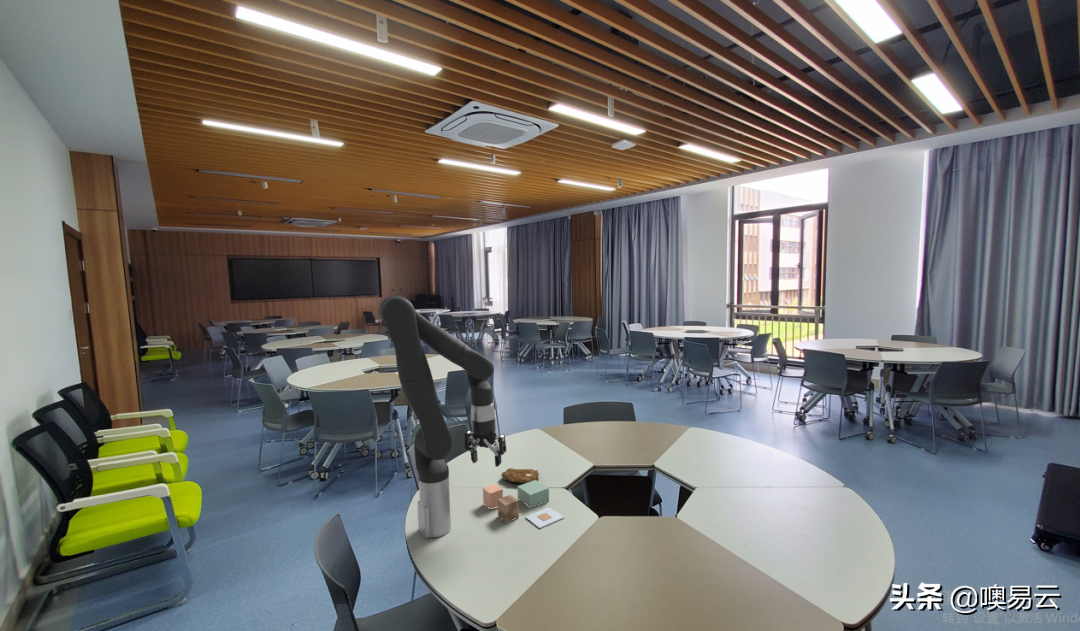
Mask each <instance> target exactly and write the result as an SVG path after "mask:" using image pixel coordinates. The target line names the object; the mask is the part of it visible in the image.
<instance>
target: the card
mask: <svg viewBox="0 0 1080 631" xmlns="http://www.w3.org/2000/svg"><path fill="white" fill-rule="evenodd" d="M524 518H525V519H526V518H527V519H528V520H530V521H531V522H532V523H533V524H532V523H531V522H530V521H529V522H530V523H531V524H532V525H534V526H535V525H536V526H537V527H536V526H535V527H536V528H538V529H539V528H541V529H543V528H545V527H548V526H550V525H552V524H555V523H556V522H559V521H561V520H564V519H565V516H563V515H562V514H561V513H559V512H557V511H556V510H554V509H552V508H551V507H550V506H548V507H547V508H544V509H541V510H539V511H536V512H534V513H531V514H530V515H527V516H525V517H524ZM527 519H526V520H527ZM528 520H527V521H528ZM542 527H543V528H542Z"/></svg>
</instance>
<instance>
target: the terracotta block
mask: <svg viewBox="0 0 1080 631" xmlns="http://www.w3.org/2000/svg"><path fill="white" fill-rule="evenodd" d="M503 497H504V489H503V488H502V487H500V486H499V485H498V484H496V483H494V484H492V485H488V486H484V487H482V500H483V501H482V502H483V503H484V504H485V505H486V506H487V507H489V508H490V509H491V508H494V507H497V506H498V499H500V498H503ZM485 505H484V506H485ZM486 506H485V507H486ZM487 507H486V508H487ZM490 509H489V510H490Z"/></svg>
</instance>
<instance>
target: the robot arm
mask: <svg viewBox="0 0 1080 631" xmlns="http://www.w3.org/2000/svg"><path fill="white" fill-rule="evenodd" d="M379 304H380V305H379V307H378V313H379V317H380V319H381V321H382V322H383V323H384V325H385V327H386V329H387V330H388V333H389V336H390V339H391V341H392V344H393V347H394V351H395V361H396V362H395V363H396V370H397V375H398V379H399V383H400V386H401V389H402V393H403V394H404V397H405V399H406V402H407V403H408V405H409V406H410V409H412V410H411V411H413V413H414V415H415V416H416V419H417V421H418V423H419V425H420V428H419V429H418V430H417V431H416V434H415V437H414V441H413V448H414V449H413V450H414V459H415V460H414V461H415V469H416V471H417V474H418V489H419V493H418V495H419V496H418V497H419V500H418V501H417V520H418V521H417V522H418V523H417V526H418V527H417V528H418V531H419V533H420V534H421V535H422V536H423V538H425V539H426V540H427V539H429V538H430V539H431V538H432V539H433V538H439V537H443V536H445V535H446V534H448V533H449V532H450V531H451V528H452V525H451V524H452V519H451V493H450V468H449V465H448V464H447V462H446V460H445V458H446V457H448V456H449V454H450V452H451V449H452V446H453V442H452V439H453V438H452V436H451V433H450V430H449V428H448V425H447V424H446V420H445V417H444V415H443V413H442V410H441V405H440V402H439V401H440V400H439V398H438V393H437V390H436V386H435V381H434V379H433V374H432V371H431V367H430V365H429V362H428V359H427V355H426V353H425V350H424V348H423V346H422V343H423V344H425V345H427V346H428V347H429V348H431V349H432V350H433V351H434V352H436V353H437V354H438V355H440V356H442V357H443V358H444V359H446V360H448V361H449V362H451V363H453V364H454V365H456V366H458V367H460V368H462V369H463V370H464V371H466V375H467V380H468V385H469V389H470V400H471V407H470V408H471V410H470V411H471V413H470V414H471V426H472V428H471V429H472V430H471V429H469V430H468V431H467V432H465V433H464V450H465V451H469V452H470V459H471V461H472V464H476V463H477V462H478V450H477V449H478V447H480V448H486V449H488V448H489V450H490V451H491V452H492V453H493V455H494V465H495V467H497V468H498V467H499V466H500V465H501V464H502V456H503V455H504V454H505V453H506V452H507V442H506V435H505V434H503V433H502V434H501V435H497V433H496V412H495V411H496V410H495V405H494V394H493V388H492V386H491V384H490V382H489V379H490V378H491V377H492V376H493V375H494V371H495V367H494V364H493V362H492V360H490V359H489V358H487V357H486V356H485V355H482V354H481V353H479V352H478V351H476V350H474V349H472V348H471V347H470V346H468V345H467V344H466V343H464V341H462V340H460V339H459V338H458V337H456V336H454V335H453V334H451V333H449V332H448V331H446V330H444V329H443V328H442V327H440V326H438V325H436V324H434V323H433V322H431V321H430V320H429V319H427V318H425V317H424V316H423V315H421V313H419V312H418V311H417V310H416V309H415V307H414V304H413V303H412V302H411V301H410V300H409V299H407V298H405V297H403V296H401V295H390V296H387V297H385V298H384V299H383V300H382V301H381V302H380V303H379ZM472 439H473V440H474V442H473V440H472ZM472 442H473V443H472Z"/></svg>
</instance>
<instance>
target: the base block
mask: <svg viewBox="0 0 1080 631" xmlns="http://www.w3.org/2000/svg"><path fill="white" fill-rule="evenodd" d="M518 499H520V500H521V501H522V502H524V503H526V504H527V505H528V506H530V507H533V506H535V505H538V504H541V503H543V504H545V503H544V502H546V503H548V502H550V488H549V487H548V486H546V485H545V484H543V483H542V482H540V481H539V480H538V481H537V480H534V481H531V482H529V483H522V484H520V485H517V500H518ZM520 500H519V501H520ZM521 501H520V502H521ZM547 501H548V502H547ZM522 502H521V503H522ZM524 503H523V504H524ZM527 505H526V506H527ZM541 505H542V504H541ZM528 506H527V507H528ZM538 506H539V505H538ZM535 507H536V506H535ZM533 508H534V507H533Z"/></svg>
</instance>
